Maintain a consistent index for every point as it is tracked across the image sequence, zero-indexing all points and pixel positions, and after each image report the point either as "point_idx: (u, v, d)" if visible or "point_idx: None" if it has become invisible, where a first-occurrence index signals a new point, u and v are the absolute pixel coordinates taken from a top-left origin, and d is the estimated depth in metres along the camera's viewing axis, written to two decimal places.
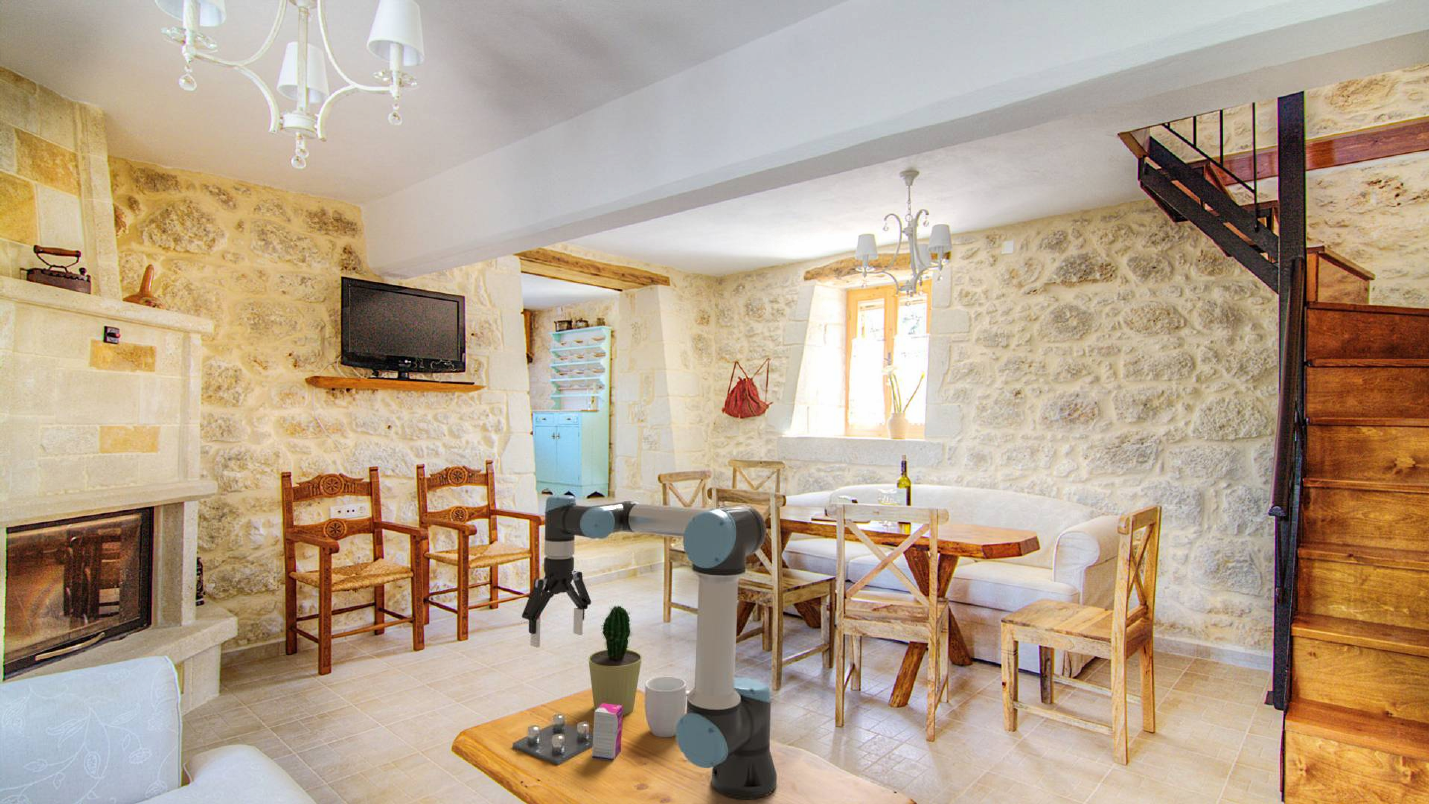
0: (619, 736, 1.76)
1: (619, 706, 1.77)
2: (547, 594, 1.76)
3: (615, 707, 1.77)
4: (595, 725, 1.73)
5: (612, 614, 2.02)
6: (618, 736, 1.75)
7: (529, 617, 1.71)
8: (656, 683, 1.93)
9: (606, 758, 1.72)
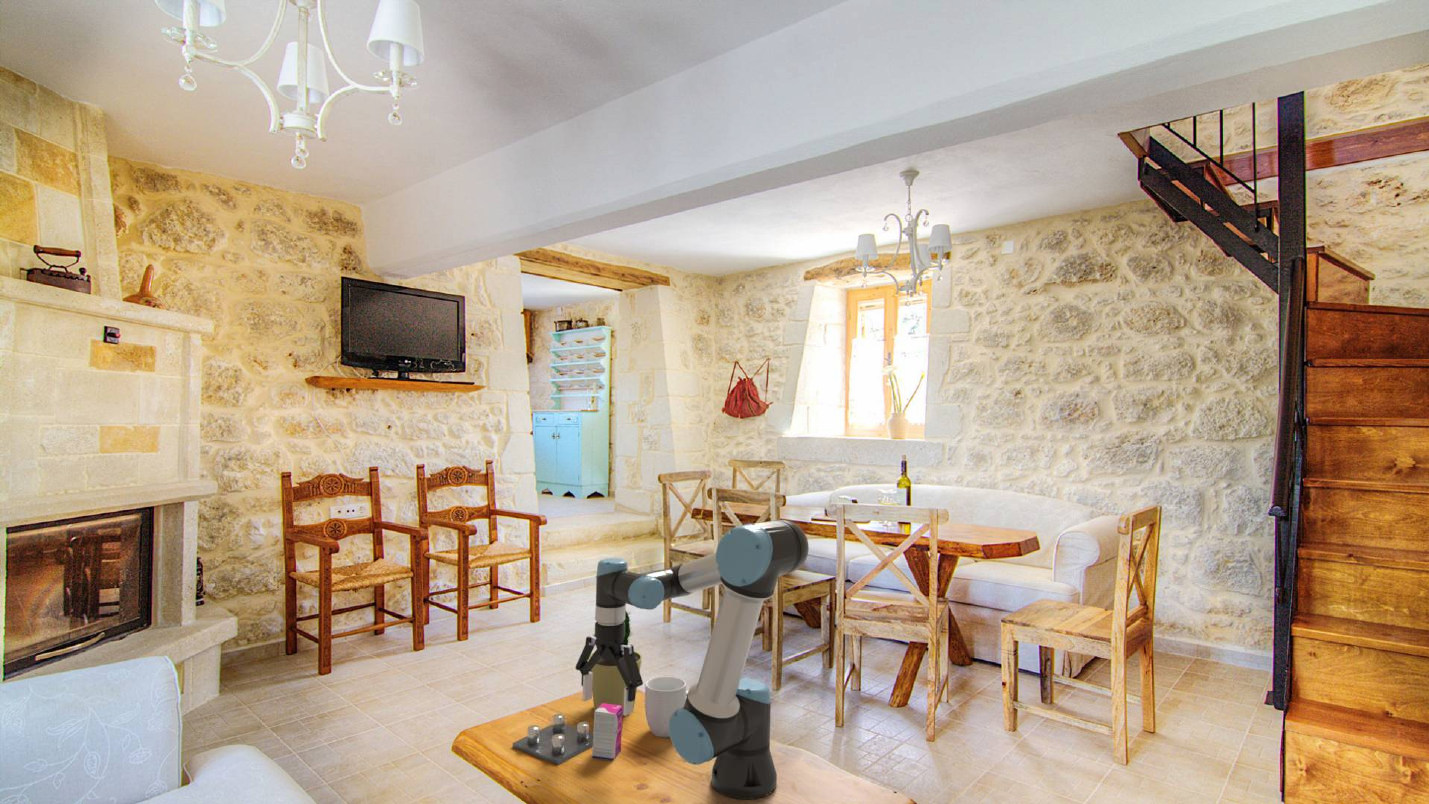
0: (619, 736, 1.76)
1: (619, 706, 1.77)
2: None
3: (615, 707, 1.77)
4: (595, 725, 1.73)
5: None
6: (618, 736, 1.75)
7: (576, 667, 1.80)
8: (656, 683, 1.93)
9: (606, 758, 1.72)
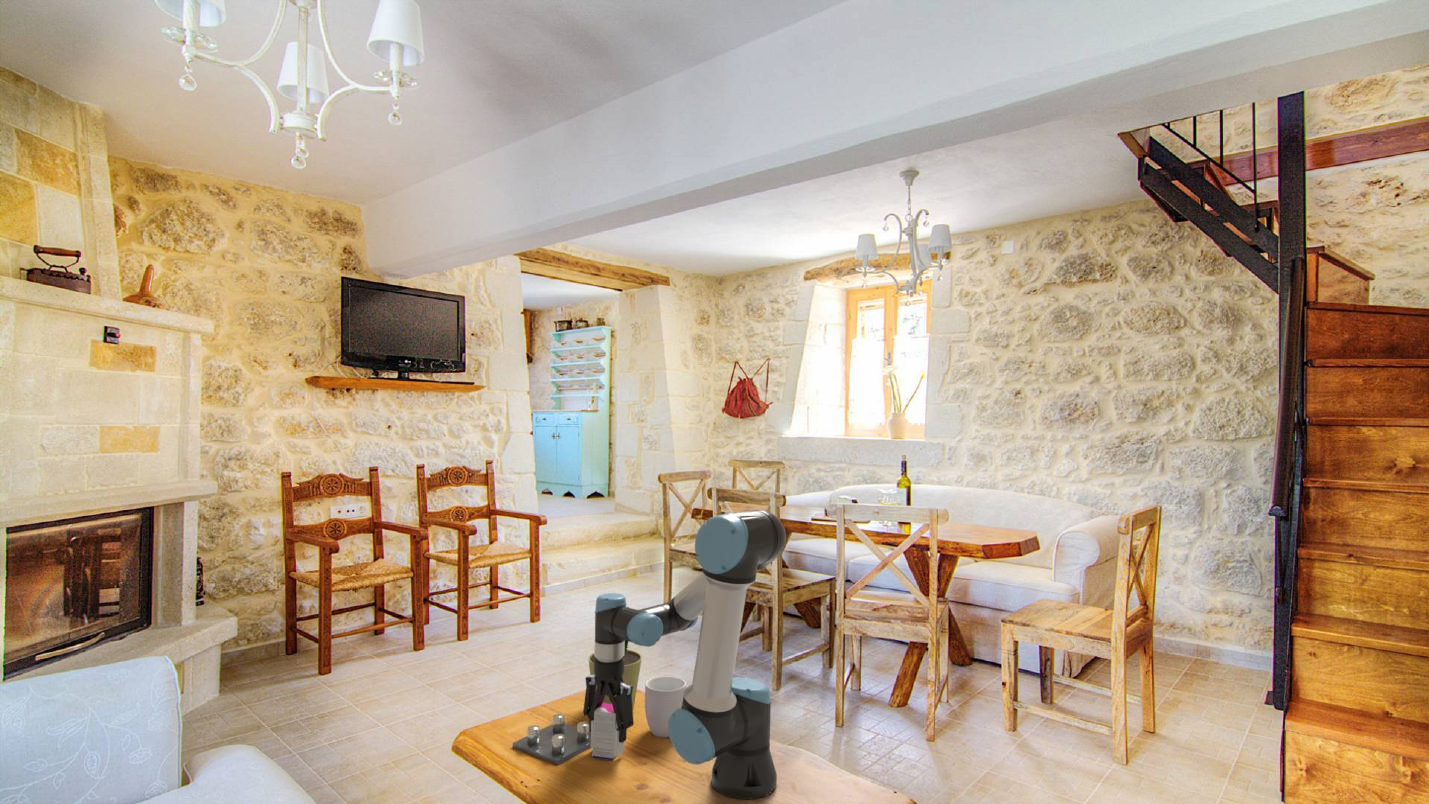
0: None
1: None
2: None
3: None
4: (595, 725, 1.73)
5: None
6: None
7: (584, 713, 1.78)
8: (656, 683, 1.93)
9: (606, 758, 1.72)
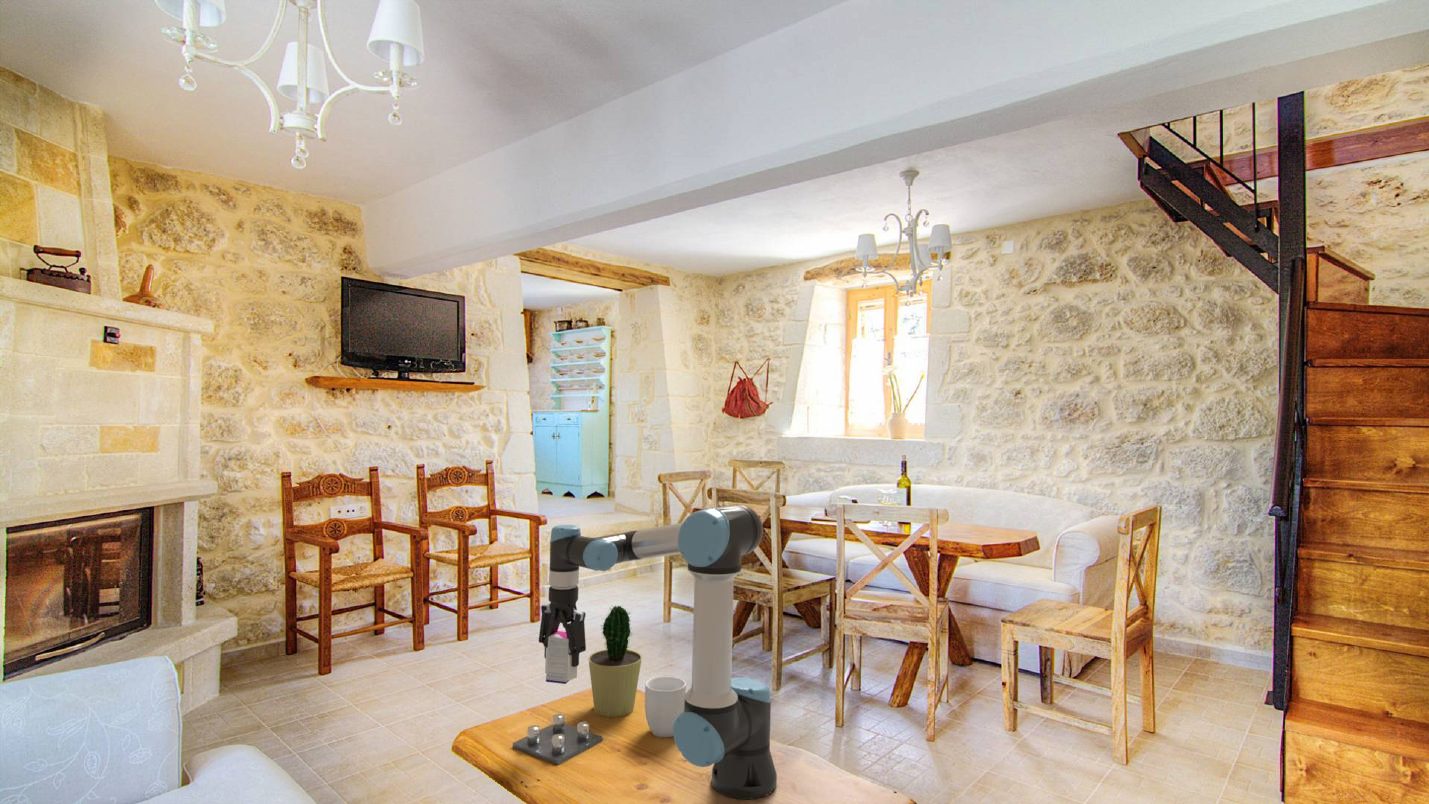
0: None
1: None
2: None
3: None
4: (549, 650, 1.79)
5: (612, 614, 2.02)
6: None
7: (539, 640, 1.84)
8: (656, 683, 1.93)
9: (559, 681, 1.78)
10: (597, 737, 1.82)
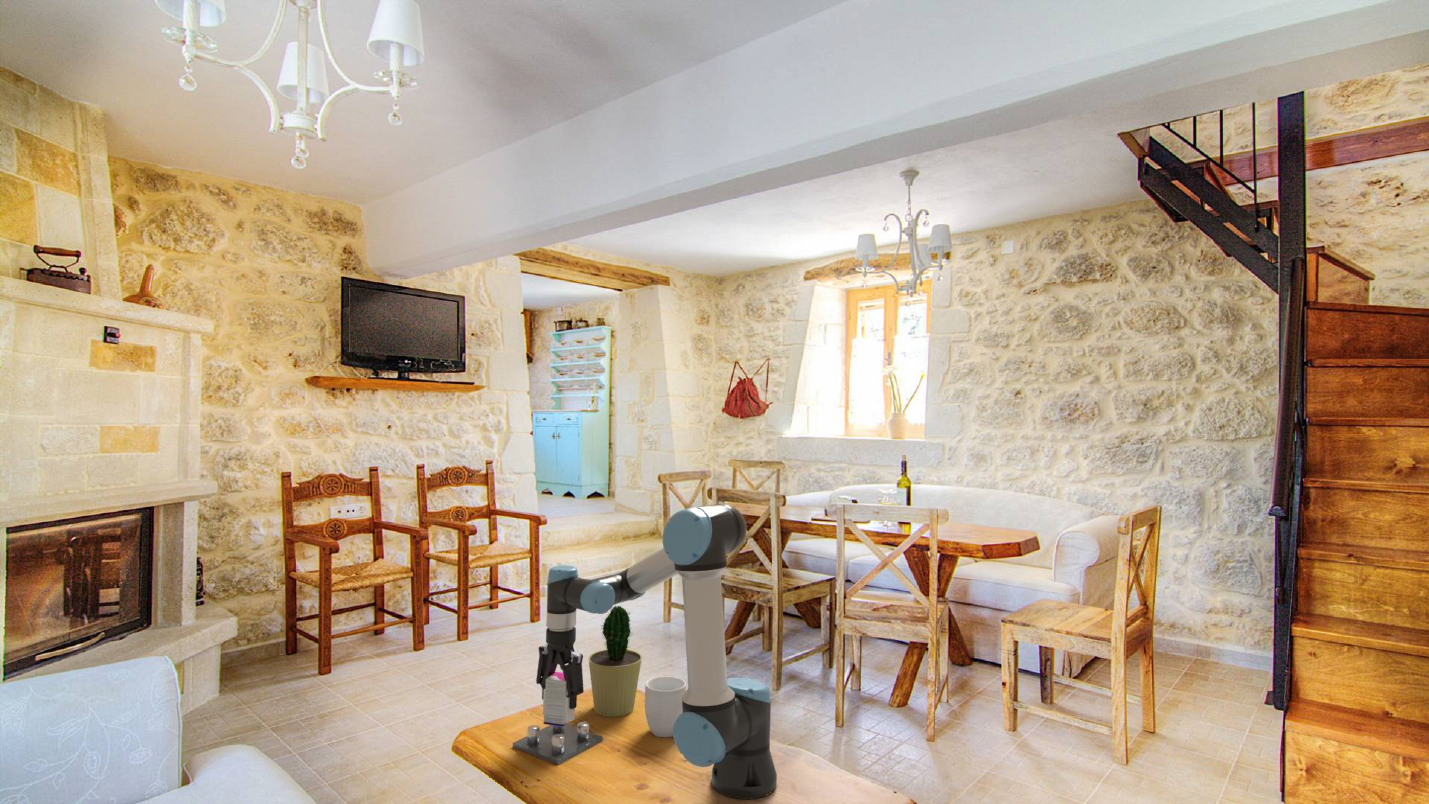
0: None
1: None
2: None
3: None
4: (546, 692, 1.79)
5: (612, 614, 2.02)
6: None
7: (537, 681, 1.84)
8: (656, 683, 1.93)
9: (557, 724, 1.78)
10: (597, 737, 1.82)
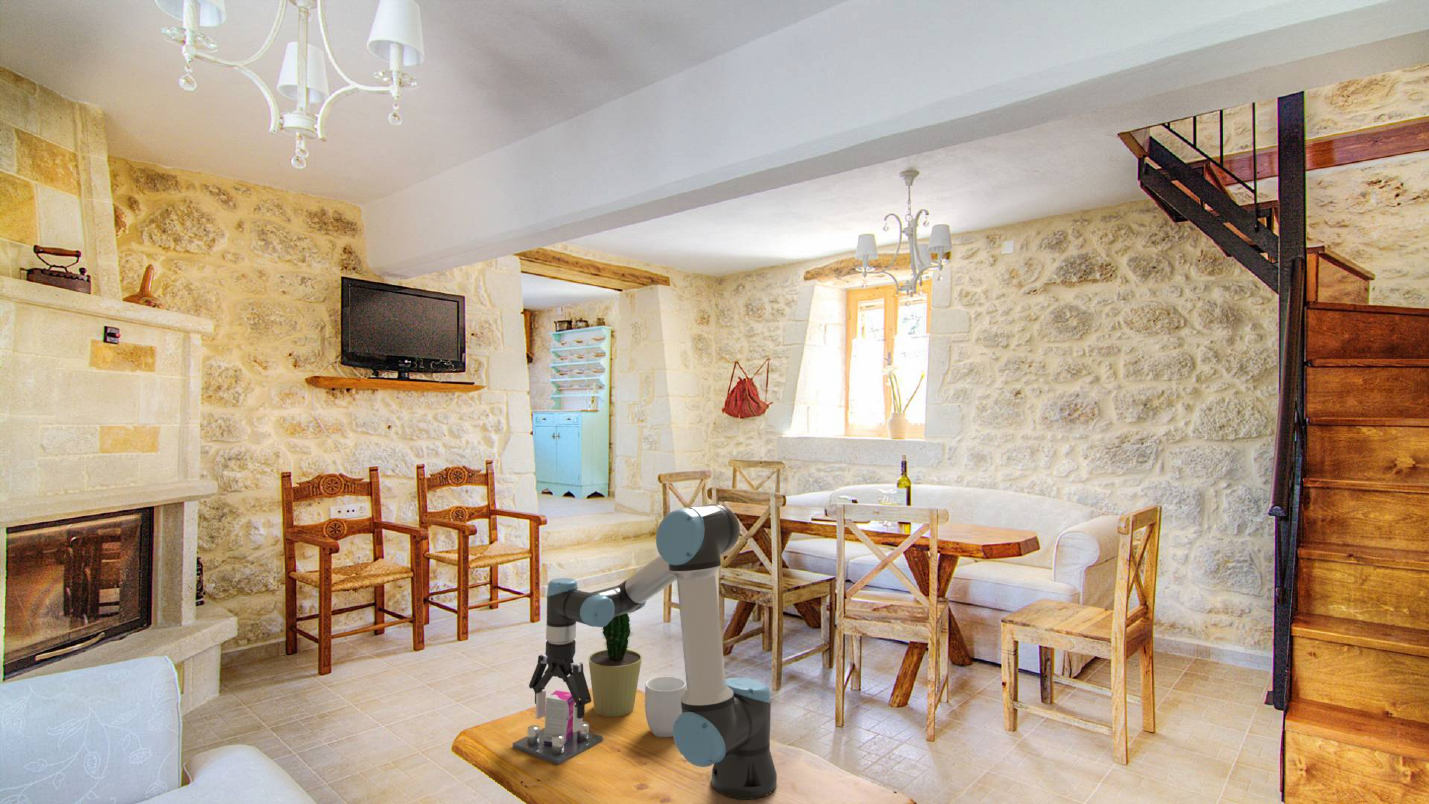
0: (571, 722, 1.81)
1: None
2: None
3: (567, 694, 1.82)
4: (547, 711, 1.78)
5: None
6: (569, 722, 1.80)
7: (529, 686, 1.85)
8: (656, 683, 1.93)
9: None
10: (597, 737, 1.82)
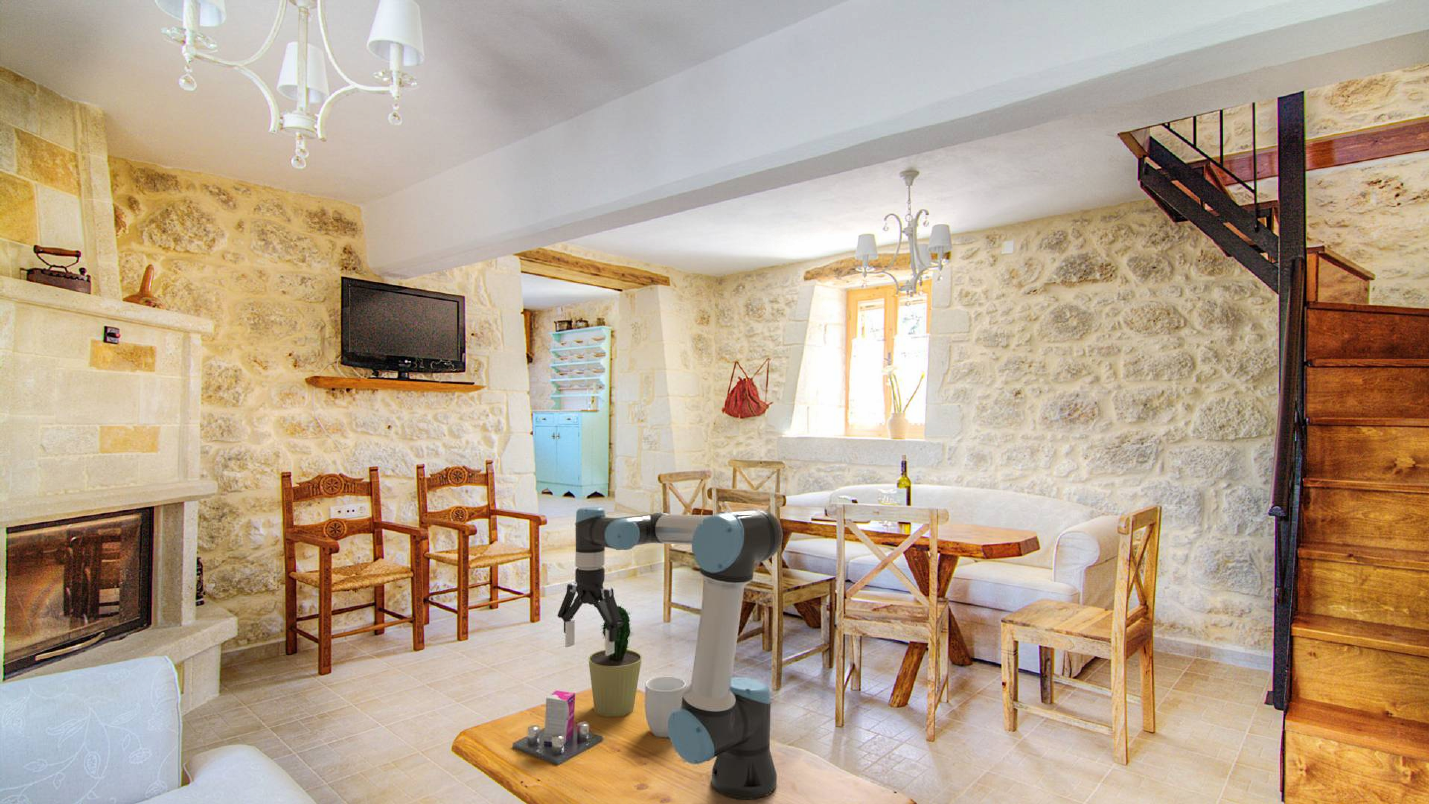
0: (571, 722, 1.81)
1: (571, 693, 1.82)
2: None
3: (567, 694, 1.82)
4: (547, 711, 1.78)
5: None
6: (569, 722, 1.80)
7: (558, 615, 1.86)
8: (656, 683, 1.93)
9: None
10: (597, 737, 1.82)
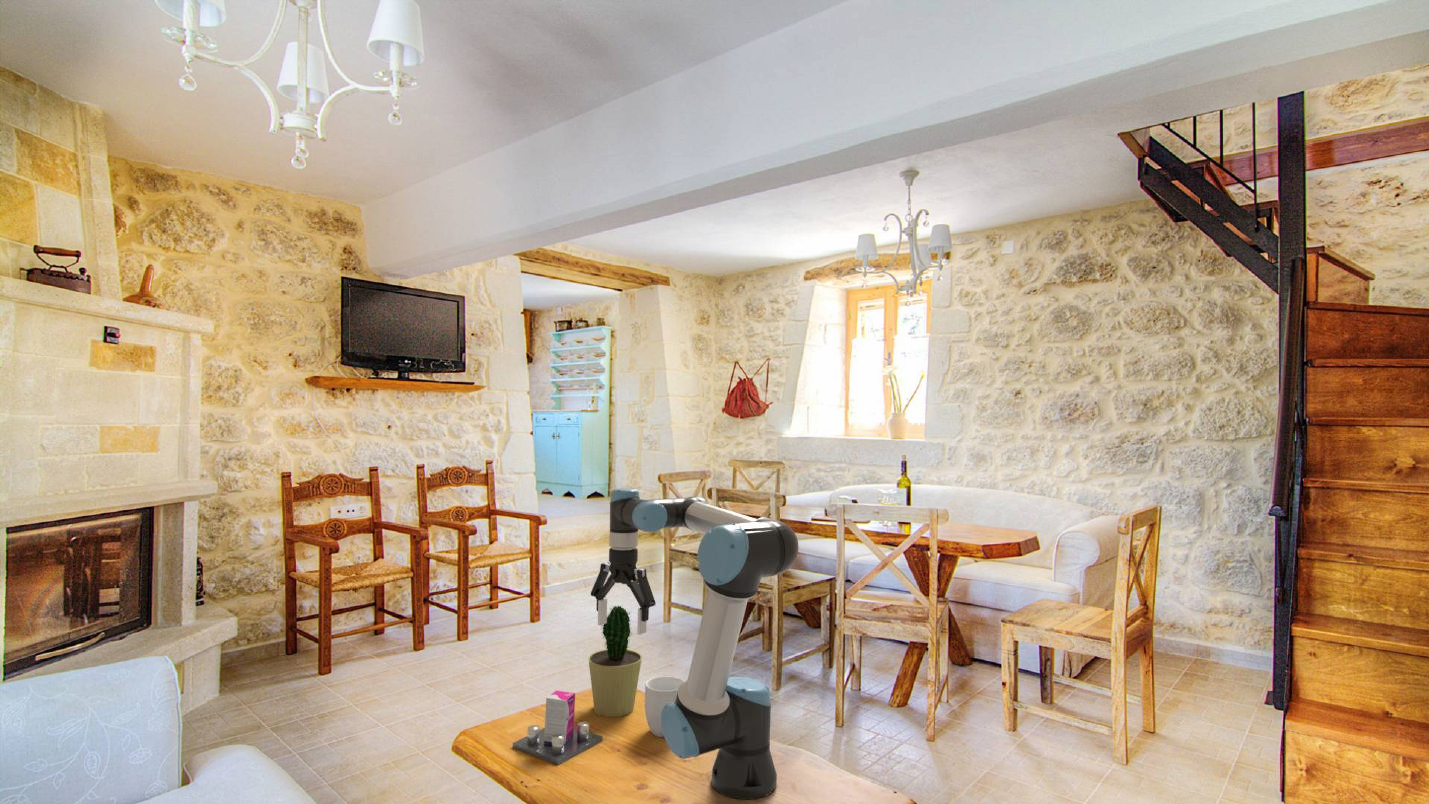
0: (571, 722, 1.81)
1: (571, 693, 1.82)
2: None
3: (567, 694, 1.82)
4: (547, 711, 1.78)
5: (612, 614, 2.02)
6: (569, 722, 1.80)
7: (591, 593, 1.89)
8: (656, 683, 1.93)
9: None
10: (597, 737, 1.82)
